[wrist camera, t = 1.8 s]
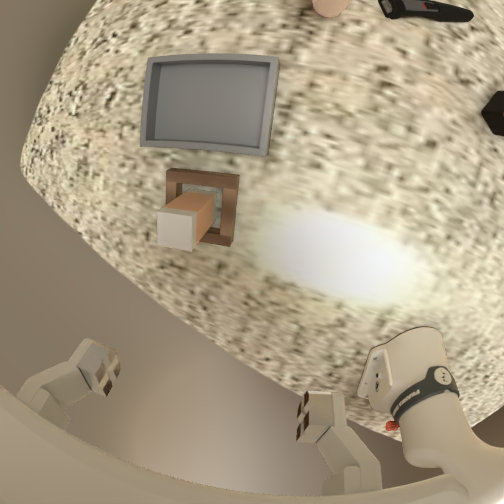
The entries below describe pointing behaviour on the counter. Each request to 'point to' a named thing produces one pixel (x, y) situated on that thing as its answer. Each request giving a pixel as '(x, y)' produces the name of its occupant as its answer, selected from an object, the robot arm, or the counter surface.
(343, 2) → the smoothie
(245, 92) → the tray
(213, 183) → the frame
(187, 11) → the counter surface
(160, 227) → the block
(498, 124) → the battery
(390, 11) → the electric trimmer
